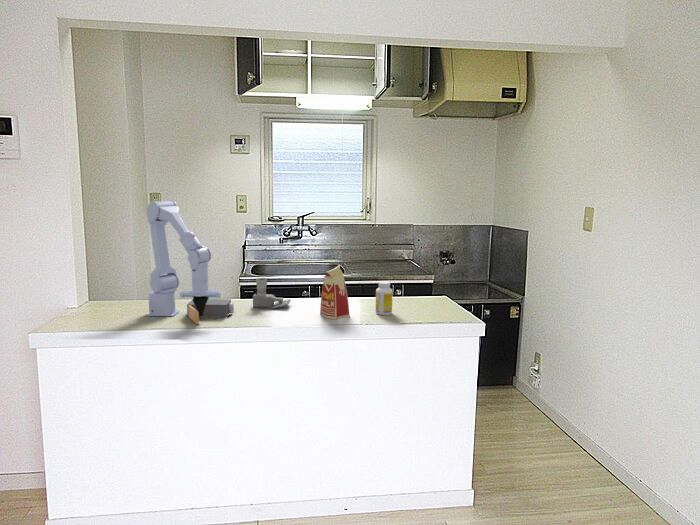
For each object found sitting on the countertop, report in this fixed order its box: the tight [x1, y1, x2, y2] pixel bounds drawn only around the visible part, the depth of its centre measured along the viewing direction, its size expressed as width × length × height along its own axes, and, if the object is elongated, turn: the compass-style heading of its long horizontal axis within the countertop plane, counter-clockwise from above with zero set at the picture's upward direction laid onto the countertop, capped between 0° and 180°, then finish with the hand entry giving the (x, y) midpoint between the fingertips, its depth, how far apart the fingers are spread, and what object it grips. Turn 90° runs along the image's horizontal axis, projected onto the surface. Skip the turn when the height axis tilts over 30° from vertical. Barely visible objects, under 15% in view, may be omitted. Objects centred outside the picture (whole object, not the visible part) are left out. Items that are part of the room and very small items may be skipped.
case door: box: [187, 305, 200, 325], centre depth 199 cm, size 12×2×5 cm, turn 32°
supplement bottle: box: [375, 280, 393, 316], centre depth 214 cm, size 7×7×13 cm
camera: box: [252, 277, 291, 310], centre depth 221 cm, size 9×12×15 cm
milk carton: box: [319, 264, 351, 320], centre depth 208 cm, size 9×9×20 cm
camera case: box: [186, 298, 235, 318], centre depth 209 cm, size 17×9×5 cm, turn 92°
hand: (201, 316), depth 197 cm, fingers closed
